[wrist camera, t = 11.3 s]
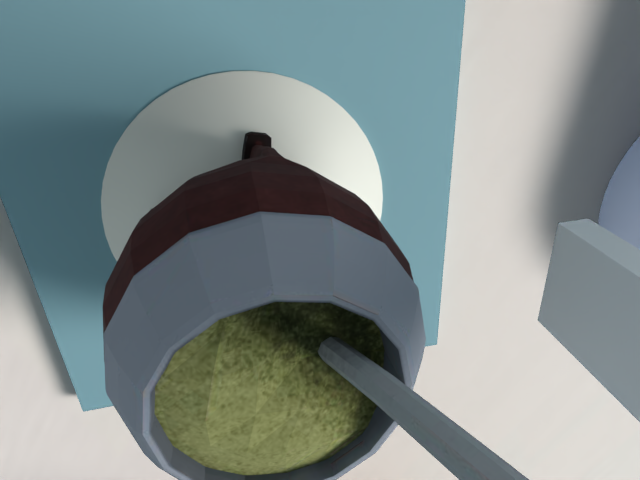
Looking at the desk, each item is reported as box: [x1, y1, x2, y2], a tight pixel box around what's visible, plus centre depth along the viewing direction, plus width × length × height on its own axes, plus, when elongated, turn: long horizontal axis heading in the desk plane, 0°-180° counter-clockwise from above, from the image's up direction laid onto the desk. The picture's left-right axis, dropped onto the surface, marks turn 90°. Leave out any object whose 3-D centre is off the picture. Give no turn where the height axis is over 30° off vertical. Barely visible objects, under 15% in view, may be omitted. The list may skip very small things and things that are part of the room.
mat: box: [0, 0, 465, 411], centre depth 16 cm, size 14×14×1 cm
